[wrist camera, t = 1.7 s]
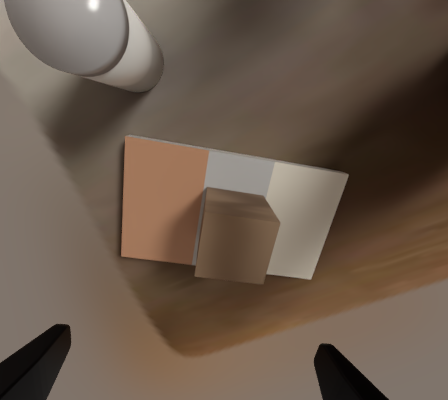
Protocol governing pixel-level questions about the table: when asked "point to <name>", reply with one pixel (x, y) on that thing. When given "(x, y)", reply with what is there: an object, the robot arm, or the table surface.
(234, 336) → the table surface
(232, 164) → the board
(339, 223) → the table surface
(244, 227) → the block
